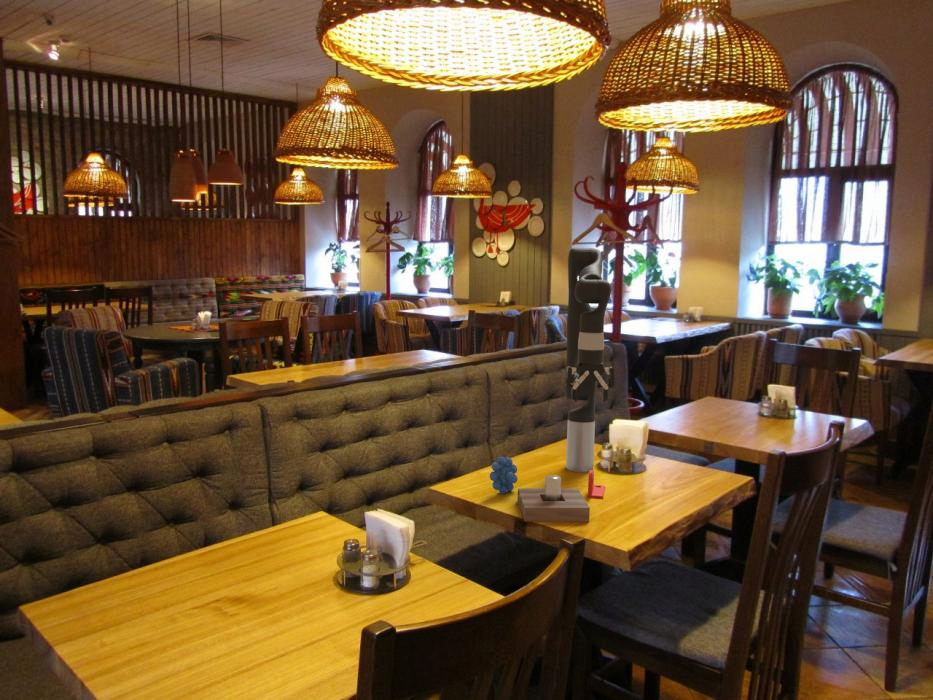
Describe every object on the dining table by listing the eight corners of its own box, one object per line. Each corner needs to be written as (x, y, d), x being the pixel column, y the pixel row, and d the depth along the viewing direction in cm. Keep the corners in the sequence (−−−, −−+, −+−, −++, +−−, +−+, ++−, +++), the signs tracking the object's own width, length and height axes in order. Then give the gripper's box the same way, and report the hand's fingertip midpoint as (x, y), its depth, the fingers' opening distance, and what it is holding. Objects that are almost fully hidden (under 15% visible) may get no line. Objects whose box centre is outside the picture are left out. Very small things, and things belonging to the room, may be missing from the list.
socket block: (517, 501, 231) (517, 488, 231) (577, 501, 232) (577, 488, 231) (524, 521, 213) (524, 507, 213) (589, 521, 214) (589, 507, 213)
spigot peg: (543, 508, 225) (544, 475, 223) (558, 508, 225) (559, 475, 224) (545, 513, 220) (546, 479, 219) (561, 513, 220) (562, 479, 219)
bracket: (602, 499, 234) (603, 474, 233) (587, 498, 235) (588, 473, 234) (605, 488, 246) (606, 464, 245) (591, 487, 247) (591, 463, 246)
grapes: (500, 500, 231) (501, 461, 230) (484, 495, 236) (485, 457, 235) (526, 493, 239) (527, 455, 238) (510, 488, 244) (511, 451, 243)
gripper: (612, 346, 233) (610, 399, 234) (564, 345, 232) (563, 399, 234) (617, 349, 225) (615, 404, 227) (569, 348, 224) (567, 403, 226)
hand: (589, 401), depth 230 cm, fingers open, 8 cm apart
